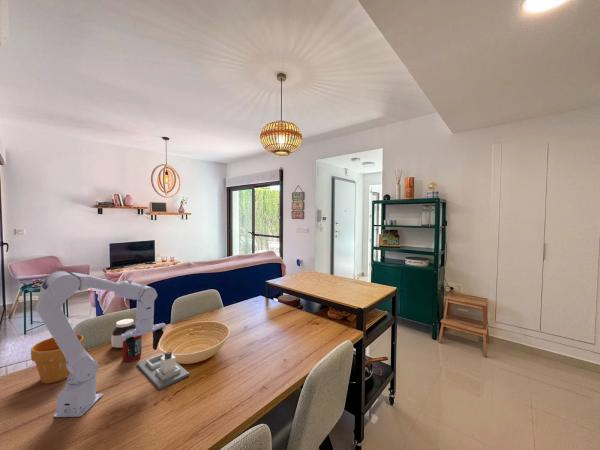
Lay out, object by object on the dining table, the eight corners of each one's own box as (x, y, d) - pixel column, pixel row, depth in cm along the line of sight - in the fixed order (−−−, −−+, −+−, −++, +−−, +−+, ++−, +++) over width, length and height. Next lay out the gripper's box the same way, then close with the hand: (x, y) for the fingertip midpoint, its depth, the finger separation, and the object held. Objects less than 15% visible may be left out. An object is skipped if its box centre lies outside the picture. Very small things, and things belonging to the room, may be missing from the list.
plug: (175, 372, 97) (175, 353, 97) (164, 377, 94) (165, 357, 94) (170, 368, 99) (171, 349, 99) (160, 372, 96) (160, 353, 96)
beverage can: (131, 363, 103) (132, 335, 103) (118, 361, 105) (119, 333, 104) (145, 355, 110) (145, 328, 110) (132, 353, 111) (132, 326, 111)
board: (189, 375, 97) (189, 369, 97) (159, 389, 88) (159, 382, 88) (165, 355, 111) (165, 349, 111) (137, 365, 102) (137, 359, 102)
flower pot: (34, 373, 95) (34, 340, 95) (83, 361, 104) (83, 330, 104) (26, 394, 84) (27, 356, 84) (82, 378, 93) (82, 344, 93)
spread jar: (110, 352, 111) (111, 326, 111) (111, 342, 121) (112, 318, 120) (142, 345, 119) (143, 321, 118) (140, 336, 128) (141, 313, 127)
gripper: (160, 310, 103) (159, 342, 103) (119, 319, 92) (118, 356, 92) (168, 314, 99) (167, 348, 99) (125, 325, 88) (124, 363, 88)
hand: (143, 352), depth 95 cm, fingers open, 7 cm apart
